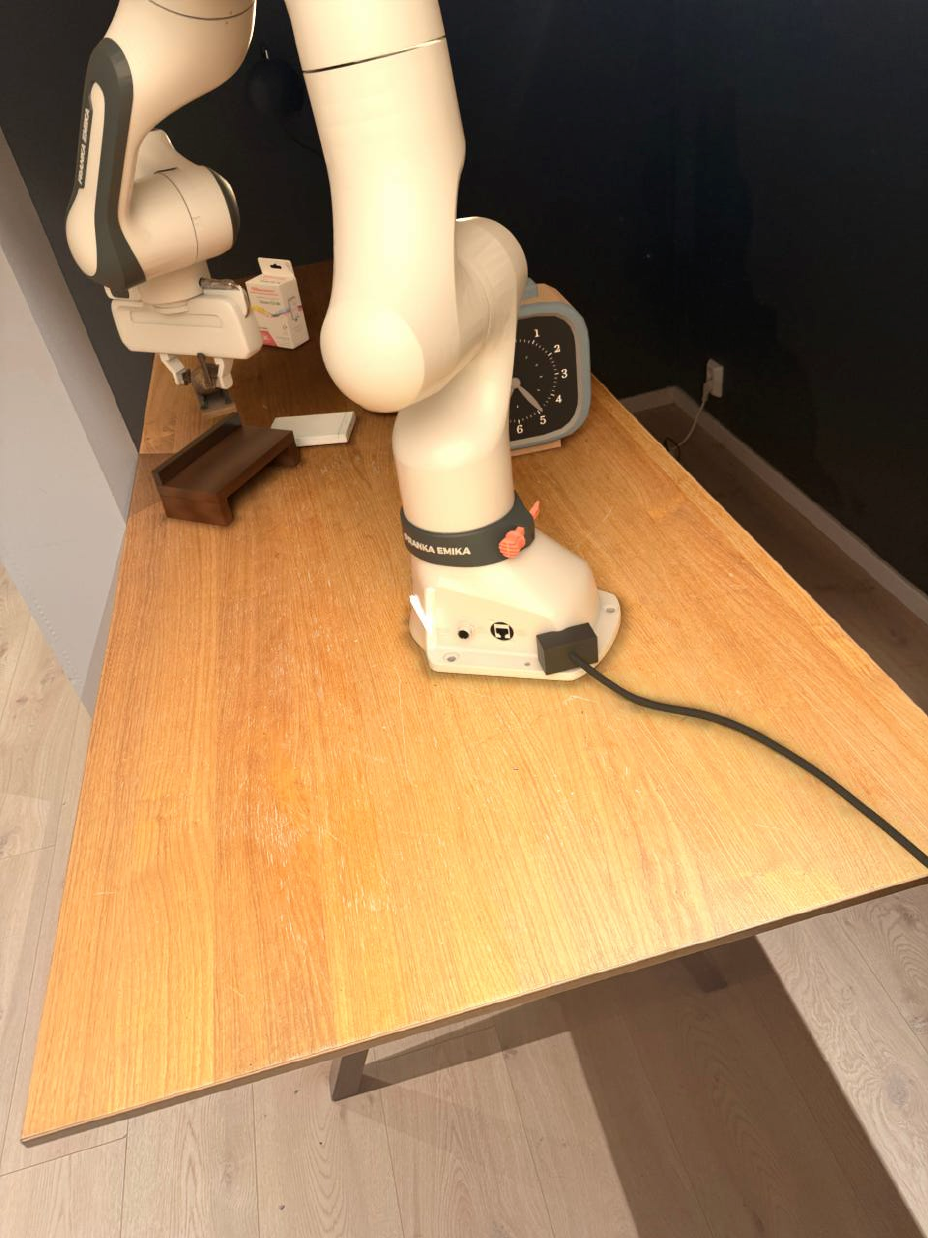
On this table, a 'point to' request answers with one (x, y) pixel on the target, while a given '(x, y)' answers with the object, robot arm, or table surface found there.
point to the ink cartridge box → (277, 305)
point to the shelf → (219, 468)
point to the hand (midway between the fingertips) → (204, 385)
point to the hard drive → (318, 428)
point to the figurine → (210, 391)
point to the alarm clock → (548, 372)
